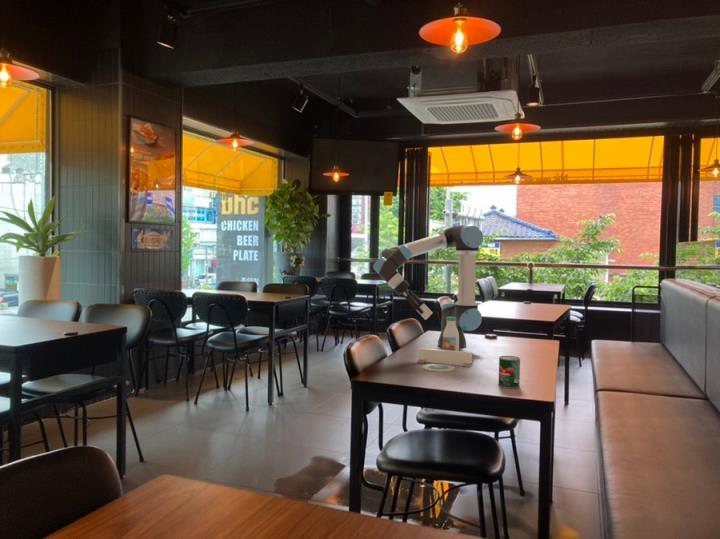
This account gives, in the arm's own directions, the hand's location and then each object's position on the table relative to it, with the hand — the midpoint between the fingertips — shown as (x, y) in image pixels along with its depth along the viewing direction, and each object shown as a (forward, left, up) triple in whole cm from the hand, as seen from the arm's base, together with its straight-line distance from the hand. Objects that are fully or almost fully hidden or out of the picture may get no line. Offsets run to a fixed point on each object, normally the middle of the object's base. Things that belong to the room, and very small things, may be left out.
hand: (429, 316), depth 273 cm
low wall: (+15, -1, -20) cm, 25 cm away
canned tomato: (+60, -3, -20) cm, 63 cm away
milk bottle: (+7, +8, -20) cm, 23 cm away
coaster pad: (+23, -10, -20) cm, 32 cm away
